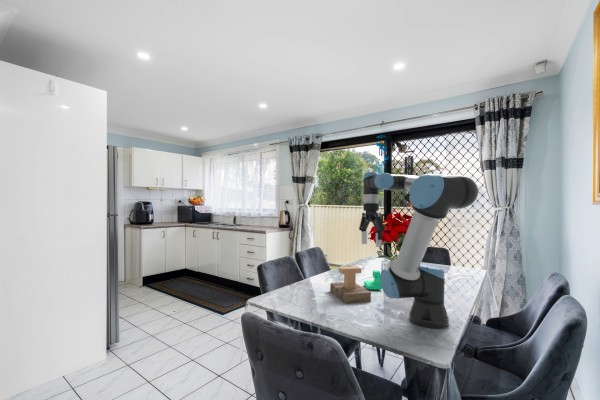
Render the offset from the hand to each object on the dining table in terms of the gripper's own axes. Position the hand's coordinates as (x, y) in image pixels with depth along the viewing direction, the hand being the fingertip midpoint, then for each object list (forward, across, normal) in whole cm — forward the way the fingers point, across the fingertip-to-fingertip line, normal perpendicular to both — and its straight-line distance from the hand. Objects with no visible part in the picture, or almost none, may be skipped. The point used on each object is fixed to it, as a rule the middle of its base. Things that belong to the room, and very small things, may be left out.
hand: (371, 245), depth 143 cm
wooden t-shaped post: (+28, +12, +6) cm, 31 cm away
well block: (+28, +12, +6) cm, 31 cm away
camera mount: (+28, +22, -14) cm, 38 cm away
